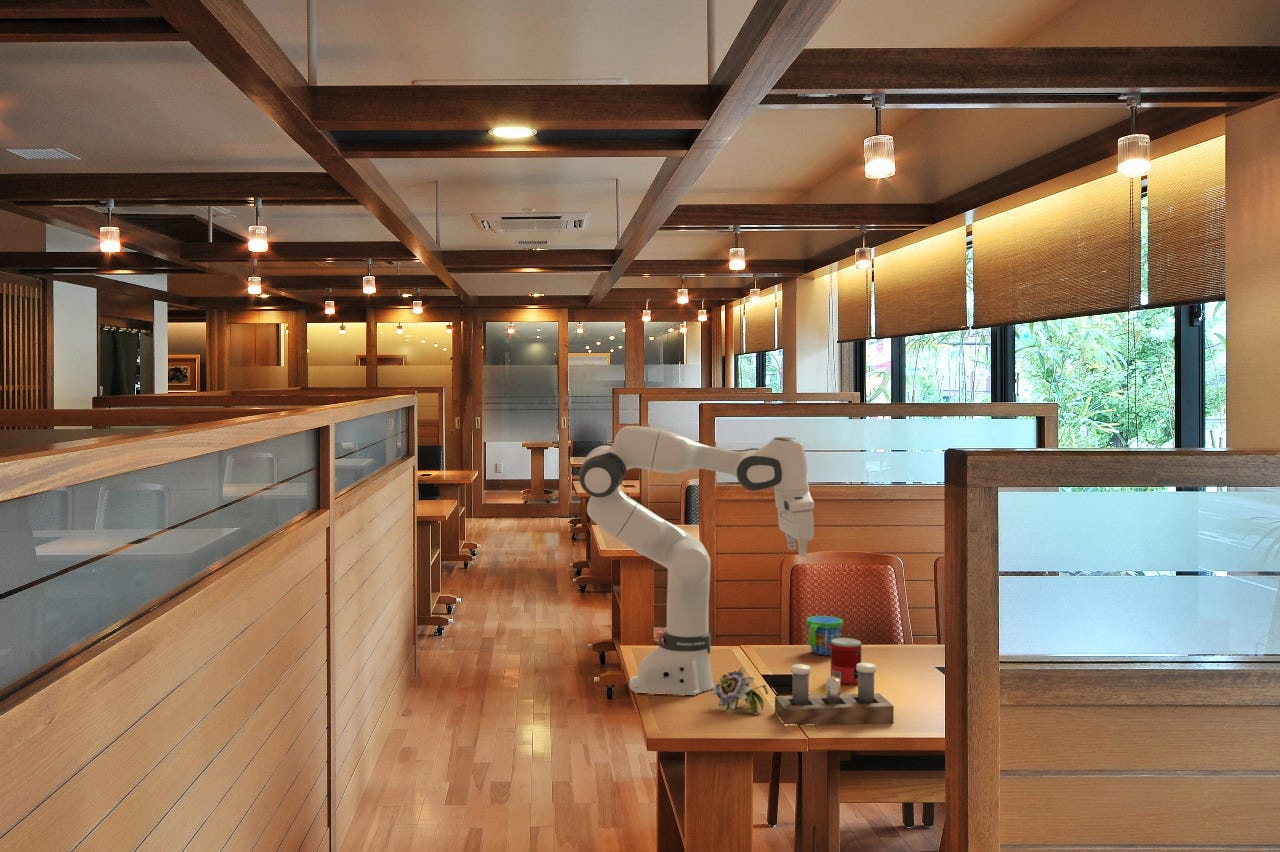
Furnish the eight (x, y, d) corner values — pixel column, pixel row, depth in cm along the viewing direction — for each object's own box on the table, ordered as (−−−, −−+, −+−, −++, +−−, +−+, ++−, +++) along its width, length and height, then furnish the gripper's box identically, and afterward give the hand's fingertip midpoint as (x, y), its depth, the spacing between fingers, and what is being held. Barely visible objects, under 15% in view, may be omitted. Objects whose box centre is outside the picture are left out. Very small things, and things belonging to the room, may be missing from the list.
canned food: (861, 686, 262) (861, 645, 261) (830, 684, 263) (830, 643, 263) (860, 678, 269) (861, 638, 269) (830, 676, 271) (831, 636, 270)
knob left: (793, 708, 233) (793, 669, 233) (788, 702, 238) (788, 664, 237) (812, 708, 233) (812, 669, 233) (807, 702, 238) (807, 664, 238)
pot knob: (828, 706, 234) (828, 680, 234) (824, 702, 238) (825, 676, 237) (841, 706, 235) (842, 679, 235) (837, 702, 238) (838, 676, 238)
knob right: (859, 706, 234) (859, 668, 234) (853, 700, 239) (853, 662, 239) (878, 706, 235) (878, 667, 235) (872, 700, 239) (872, 662, 239)
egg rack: (784, 726, 230) (784, 709, 230) (774, 712, 240) (775, 696, 240) (893, 722, 233) (893, 706, 232) (879, 709, 242) (879, 693, 242)
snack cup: (825, 645, 305) (825, 612, 305) (854, 651, 298) (854, 618, 297) (794, 654, 294) (794, 620, 294) (823, 661, 287) (823, 626, 286)
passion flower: (726, 733, 241) (700, 689, 244) (752, 714, 249) (726, 672, 252) (754, 717, 234) (726, 672, 237) (780, 698, 242) (753, 655, 245)
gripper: (770, 495, 264) (775, 547, 265) (791, 506, 243) (796, 561, 244) (793, 493, 264) (797, 544, 265) (816, 503, 244) (821, 558, 245)
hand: (797, 552), depth 255 cm, fingers open, 8 cm apart
